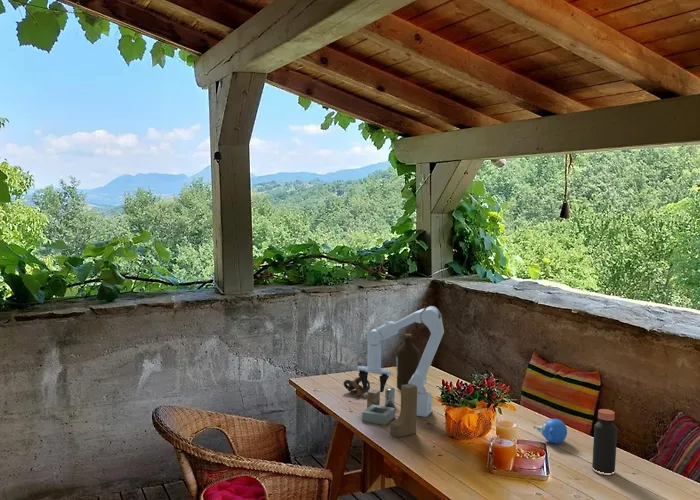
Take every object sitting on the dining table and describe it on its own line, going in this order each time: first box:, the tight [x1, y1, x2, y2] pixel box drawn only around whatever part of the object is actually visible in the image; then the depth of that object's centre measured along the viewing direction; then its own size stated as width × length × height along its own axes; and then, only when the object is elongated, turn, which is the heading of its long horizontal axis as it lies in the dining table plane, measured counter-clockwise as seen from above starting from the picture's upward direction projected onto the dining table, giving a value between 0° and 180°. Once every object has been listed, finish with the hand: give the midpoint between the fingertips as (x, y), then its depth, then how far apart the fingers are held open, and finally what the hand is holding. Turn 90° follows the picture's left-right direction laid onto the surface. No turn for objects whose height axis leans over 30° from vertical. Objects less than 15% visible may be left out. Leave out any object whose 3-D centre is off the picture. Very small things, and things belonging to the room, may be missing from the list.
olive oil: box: [395, 333, 420, 390], centre depth 280 cm, size 11×11×25 cm
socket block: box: [361, 404, 396, 426], centre depth 240 cm, size 10×10×4 cm
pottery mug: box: [342, 376, 371, 397], centre depth 271 cm, size 12×10×8 cm
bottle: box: [591, 408, 618, 473], centre depth 195 cm, size 7×7×20 cm
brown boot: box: [389, 384, 417, 438], centre depth 224 cm, size 9×4×18 cm, turn 120°
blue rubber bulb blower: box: [532, 418, 568, 444], centre depth 220 cm, size 12×12×8 cm
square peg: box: [366, 389, 381, 409], centre depth 252 cm, size 4×4×7 cm
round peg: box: [384, 387, 396, 408], centre depth 256 cm, size 4×4×7 cm
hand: (373, 390), depth 252 cm, fingers open, 7 cm apart
